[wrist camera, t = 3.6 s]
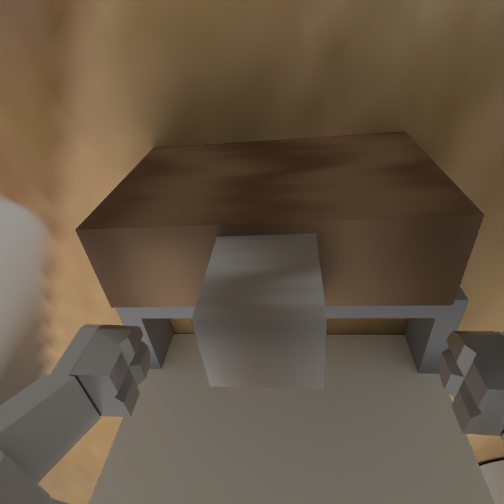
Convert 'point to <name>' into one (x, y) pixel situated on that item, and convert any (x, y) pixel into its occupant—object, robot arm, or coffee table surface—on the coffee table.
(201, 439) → the board
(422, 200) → the walnut panel
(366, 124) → the coffee table surface
